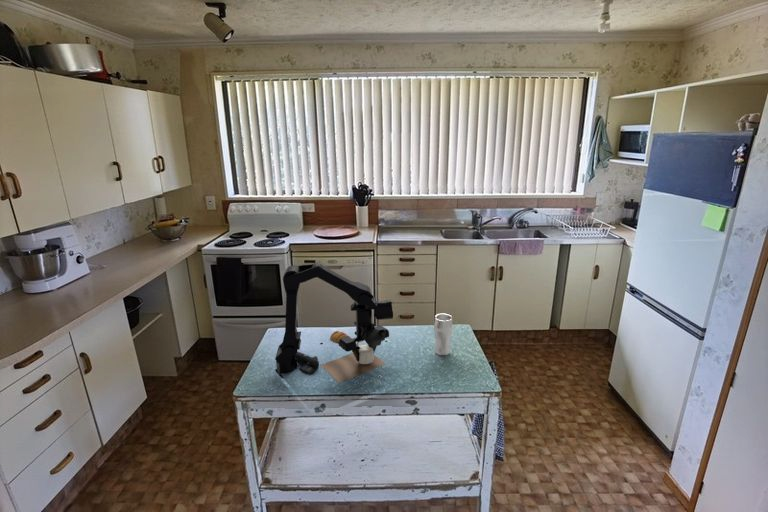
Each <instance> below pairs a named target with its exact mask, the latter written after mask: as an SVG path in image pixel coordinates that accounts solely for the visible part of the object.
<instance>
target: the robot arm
mask: <svg viewBox="0 0 768 512" xmlns="http://www.w3.org/2000/svg"><path fill="white" fill-rule="evenodd" d="M315 278H318V279H320V280H321V281H323V282H325V283H327V284H329V285H331V286H333V287H335V288H337V289H338V290H340V291H342V292H344V293H345V294H347V296H348V297H349V298H351V300H353V303H352V304H350V307H349V308H350V311H353V312H355V321H353V324H354V325H355V326H356V328H355V330H356V331H354V335H355V336H356V337H354V338H352V337H351V336H349V335H348V336H347V337H344V338H341V339H340V340H339V343H338V346H339V347H340V348H341V349H342V350H344V351H345V352H347V353H349V352H351V353H353V354H354V356H355V358H356V360H357V361H358V362H359V350H360V349H361V348H360V347H359V346H360V345H359V344H360V343H362V342H365V344H366V345H368V346H369V347H370V348H373V351H374V353H375V352H376V349H377V347H378V346H381V345H382V342H383V341H386V339H387V338H389V337H390V331H389V329H388V328H386V327H384V326H383V325H381V324H380V325H377V326H375V323H374V322H373V318H375V320H377V321H379V320H380V321H381V320H393V318H394V311H393V302H392V299H388V300H378V301H377V299H376V297H375V296H374V295H373V294H372V290H371V288H370V287H369V285H367V284H364V283H361V282H358V281H353V280H350V279H348V278H346V277H344V276H342V275H340V274H339V273H337V272H336V271H333V270H331V269H329V268H328V267H326V266H324V265H323V264H322V263H320V262H314V263H310V264H300V265H296V264H295V265H289V266H287V268H286V269H285V272H284V274H283V277H282V282H283V288H284V293H285V295H286V297H285V320H284V321H285V325H284V327H285V328H284V335H283V340H282V342H281V343H280V344H279V345H278V347H277V350H276V355H275V358H274V360H275V364H276V368H275V372H276V373H277V375H278V376H279V377H280V379H284V377H283V375H282V374H285V375H286V374H290V373H292V372H293V371H295V370H296V369H297V368H298V362H297V358H296V357H295V355H296V354H297V352H299V351H300V349H301V343H302V340H301V335H302V331H298V329H297V325H298V324H297V319H298V318H297V316H298V299H299V298H298V293H299V289H300V284H302V283H306V282H307V281H310V280H312V279H315ZM372 310H373V311H372Z"/></svg>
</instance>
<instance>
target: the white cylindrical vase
mask: <svg viewBox="0 0 768 512" xmlns="http://www.w3.org/2000/svg"><path fill="white" fill-rule="evenodd" d="M433 324H434V325H433V326H434V328H433V331H434V338H435V339H434V340H435V347H434V354H436V355H437V356H441V355H442V356H441V357H444V356H443V355H446V356H448V355H450V354H449V353H451V348H450V344H451V338H452V333H453V316H452V315H450V314H447V313H437V314H436V315H434V323H433Z"/></svg>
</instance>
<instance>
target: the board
mask: <svg viewBox="0 0 768 512" xmlns="http://www.w3.org/2000/svg"><path fill="white" fill-rule="evenodd" d="M386 364H387V363H386V362H385V361H383V360H382V359H381V358H379V357H378V356H377V355H375V354H374V359H373V362H371V363H370V364H369V365H367V366H363V365H361V364H360V363H359V362H357V360H356V358H355V356H354V354H353V352H351V353H349V354H346V355H343V356H341V357H338V358H335V359H333V360H330V361H327V362H325V363H321V364H320V367H322V368H323V370H325V371H326V372H327V373H328V374H329V375H330V376H331V377H332V378H333V380H335V381H336V382H337V383H338V384H341V383H343V382H346V381H348V380H350V379H353V378H355V377H357V376H360V375H362V374H365V373H368V372H370V371H372V370H374V369H377V368H379V367H383V366H384V365H386Z"/></svg>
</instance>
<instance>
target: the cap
mask: <svg viewBox="0 0 768 512" xmlns="http://www.w3.org/2000/svg"><path fill="white" fill-rule="evenodd" d="M358 346H359V347H360V348H361V349H360V350H359V363H361V364H369V363H371V362H373V359H374V355H375V352H374V351H373V348H370V347H369V346H368V344H361V345H358ZM357 362H358V361H357Z"/></svg>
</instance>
